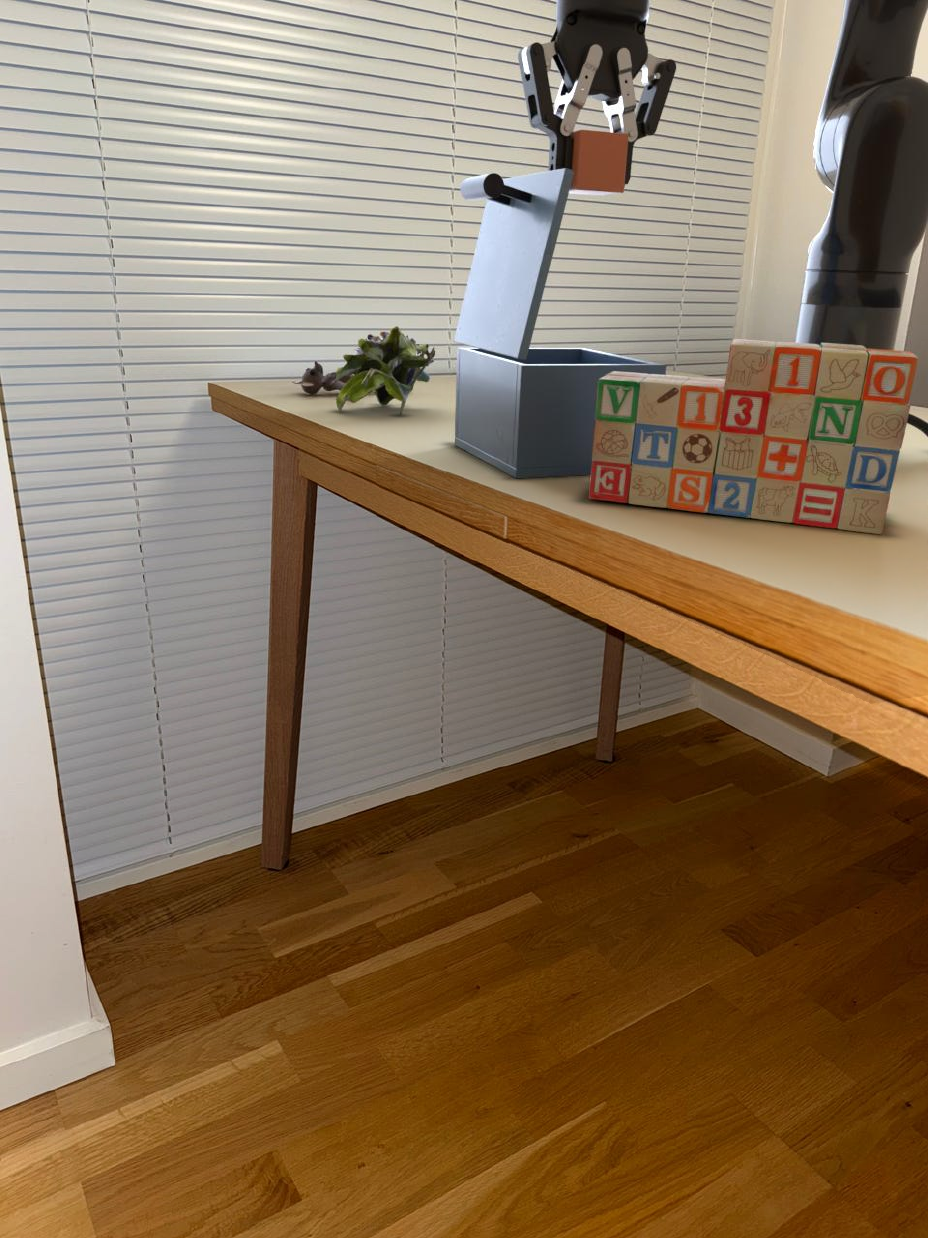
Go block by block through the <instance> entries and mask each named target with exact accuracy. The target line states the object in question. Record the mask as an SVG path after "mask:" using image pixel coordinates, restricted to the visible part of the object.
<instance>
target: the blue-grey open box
mask: <svg viewBox="0 0 928 1238" xmlns="http://www.w3.org/2000/svg"><path fill="white" fill-rule="evenodd" d="M456 349H457V350H456V381H455V383H456V384H455V412H454V413H455V416H454V418H455V419H454V445H455V446H456V447H458V448H460V449H462V450H464V451H466V452H467V453H469V454H471V455H473V456H474V457H477V458H478V459H480V460H481V461H484V462H485V463H488V465H491V466H493V467H495V468H497V469H498V470H500V471H502V472H503V473H505V474H507V475H509V476H510V477H513V478H515V479H528V478H550V477H570V476H572V477H573V476H591V468H592V461H593V460H592V451H593V442H594V431H595V424H596V419H595V415H596V404H597V391H598V381H599V379H600V378H602V377H604V376H606V374H609V373H611V372H613V371H618V372H633V373H645V374H659V375H667V373H666V372H667V364H664V363H659V362H653V361H650V360H645V359H639V358H635V357H629V356H625V355H619V354H615V353H609V352H604V351H600V350H595V349H590V348H586V347H529V351H528V355H527V359H526V360H521V359H517V358H514V357H510V356H506V355H502V354H498V353H494V352H491V351H487V350H483V349H479V348H475V347H457V348H456Z"/></svg>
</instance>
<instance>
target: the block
mask: <svg viewBox="0 0 928 1238" xmlns="http://www.w3.org/2000/svg"><path fill="white" fill-rule="evenodd" d="M628 137H629V134H624V133H613V132H611V131H602V130H601V131H600V130H591V129H578V130H575V131H574V130H573V133H572V134H571V137H570V138H574V147H573V161H572V170H573V171H574V174H573V178H572V182H571V186H570V190H569V194H568V195H583V196H584V195H585V196H607V195H608V196H609V195H617V194H624V192H625V187H624V183H625V172H626V160H627V149H628Z"/></svg>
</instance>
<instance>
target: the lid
mask: <svg viewBox="0 0 928 1238" xmlns="http://www.w3.org/2000/svg"><path fill="white" fill-rule="evenodd" d="M573 174H574V171H573V170H570V169H568V168H564V169H558V170H552V171H548V170H547V171H542V172H536V173H535V172H534V173H529V174H523V175H518V176H513V177H507V178H503V177H502V176H501V175H500V174H498V173H495V172H493V173H486V174H481V175H477V176H476V175H475V176H471V177H467V178H464V179H463V181H462V182H461V184H460V194H461V196H462V198H463V199H465V200H466V201H468V202H472V201H474V202H475V201H480V200H481V201H482V200H486V202H485V207H484V210H483V215H482V219H481V222H480V223H481V224H480V226H479V227H480V228H479V230H478V231H479V232H478V237H477V240H476V245H475V249H474V254H473V258H472V262H471V265H470V271H469V274H468V279H467V284H466V287H465V292H464V296H463V300H462V305H461V310H460V313H459V318H458V322H457V327H456V331H455V335H454V340H453V342H454V343H456V344H460V345H463V346H468V347H470V348H479V349H483V350H487V351H491V352H494V353H498V354H502V355H506V356H510V357H514V358H517V359H521V360H526V359H527V355H528V351H529V348H531V347H530V346H531V343H532V338H533V334H534V330H535V327H536V323H537V319H538V315H539V312H540V307H541V304H542V299H543V296H544V291H545V288H546V284H547V280H548V276H549V273H550V269H551V265H552V264H551V263H552V261H553V257H554V252H555V248H556V244H557V241H558V236H559V234H560V229H561V225H562V222H563V218H564V213H565V210H566V206H567V201H568V197H569V195H570V194H569V190H570V186H571V182H572V178H573Z"/></svg>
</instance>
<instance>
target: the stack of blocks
mask: <svg viewBox="0 0 928 1238" xmlns="http://www.w3.org/2000/svg"><path fill="white" fill-rule="evenodd" d="M728 352H729V354H728V361H727V366H726V373H725V378H724V379H721V378H708V377H707V378H706V377H691V376H686V375H685V376H684V375H673V374H665V375H659V374H645V373H633V372H618V371H613V372H611V373H609V374H606V376H604V377H602V378H600V379H599V381H598V391H597V404H596V415H595V419H596V424H595V431H594V442H593V451H592V460H593V461H592V468H591V475H589V477H590V478H589V485H588V488H589V489H588V499H591V500H599V501H606V502H607V501H608V502H616V503H625V504H626V503H628V504H631V505H635V506H636V505H638V506H645V507H652V508H654V507H655V508H668V509H672V510H680V511H687V512H695V513H704V514H706V513H707V514H708V513H709V514H712V515H713V514H714V515H722V516H731V517H739V518H748V519H750V518H751V519H756V520H763V521H773V522H780V523H788V524H789V523H790V524H791V523H793V524H797V525H804V526H812V527H819V528H825V529H826V528H827V529H838V530H844V531H851V532H857V533H858V532H860V533H866V534H867V533H868V534H876V535H881V534H883V531H884V526H885V522H886V517H887V512H888V508H889V502H890V498H891V491H892V487H893V483H894V478H895V475H896V470H897V465H898V462H899V458H900V453H901V449H902V446H903V443H904V438H905V434H906V428H907V424H908V423H907V420H908V416H909V414H910V411H911V410H910V409H911V403H910V402H909V401H910V398H911V394H912V389H913V385H914V381H915V376H916V371H917V367H918V362H919V357H918V356H917V355H916V354H915V353H912V352H911V351H907V350H895V349H894V350H881V349H868V348H865V347H864V346H862V345H848V344H834V343H821V344H820V345H818V344H809V343H794V342H793V341H791V342H788V341H772V340H759V339H758V340H757V339H744V338H743V339H742V338H734V339H733V341H732V342H731V344H730V347H729V351H728Z"/></svg>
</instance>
